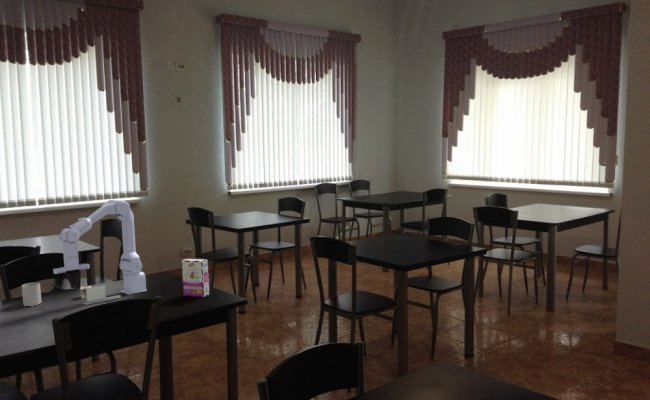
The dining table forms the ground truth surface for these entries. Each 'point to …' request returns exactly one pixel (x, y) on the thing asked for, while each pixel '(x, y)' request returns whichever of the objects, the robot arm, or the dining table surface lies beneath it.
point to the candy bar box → (195, 277)
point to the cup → (31, 294)
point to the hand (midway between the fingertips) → (73, 287)
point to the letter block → (84, 291)
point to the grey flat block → (95, 293)
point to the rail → (102, 300)
